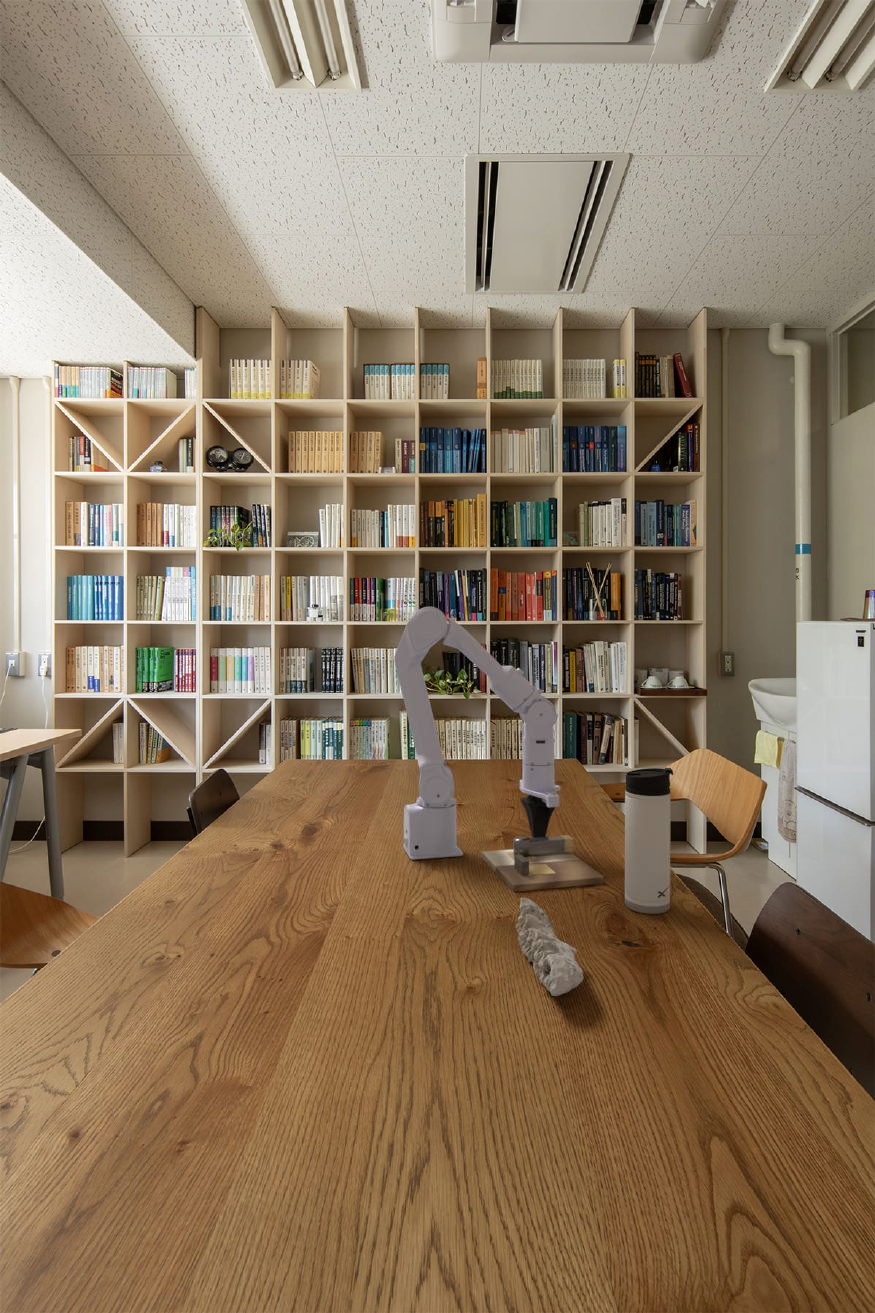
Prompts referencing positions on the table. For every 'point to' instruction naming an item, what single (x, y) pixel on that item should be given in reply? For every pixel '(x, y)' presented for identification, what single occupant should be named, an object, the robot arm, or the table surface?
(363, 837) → the table surface
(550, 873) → the door board
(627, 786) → the travel mug
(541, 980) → the fossil
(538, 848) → the latch bar
